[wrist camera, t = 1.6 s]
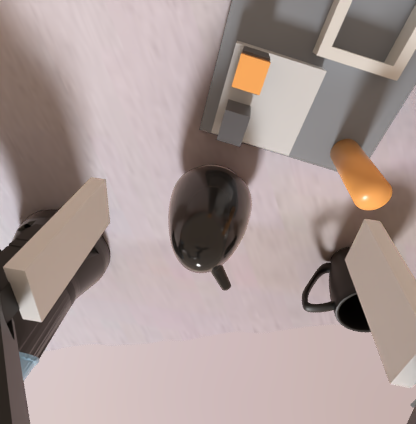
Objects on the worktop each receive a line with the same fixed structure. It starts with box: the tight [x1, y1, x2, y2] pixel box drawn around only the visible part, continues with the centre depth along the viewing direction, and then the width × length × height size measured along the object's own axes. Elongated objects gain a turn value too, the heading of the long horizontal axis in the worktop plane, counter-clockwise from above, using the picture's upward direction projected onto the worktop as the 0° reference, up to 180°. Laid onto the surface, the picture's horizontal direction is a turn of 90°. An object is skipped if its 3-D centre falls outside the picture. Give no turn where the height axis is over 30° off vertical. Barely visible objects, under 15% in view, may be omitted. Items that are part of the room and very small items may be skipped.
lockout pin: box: [330, 139, 392, 210], centre depth 31 cm, size 3×3×10 cm
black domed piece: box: [168, 165, 252, 290], centre depth 36 cm, size 10×10×15 cm
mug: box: [302, 247, 371, 332], centre depth 42 cm, size 8×12×10 cm
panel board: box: [199, 0, 416, 172], centre depth 30 cm, size 20×20×4 cm
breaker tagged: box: [232, 46, 271, 95], centre depth 27 cm, size 2×3×5 cm
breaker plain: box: [217, 99, 251, 147], centre depth 30 cm, size 2×3×4 cm
